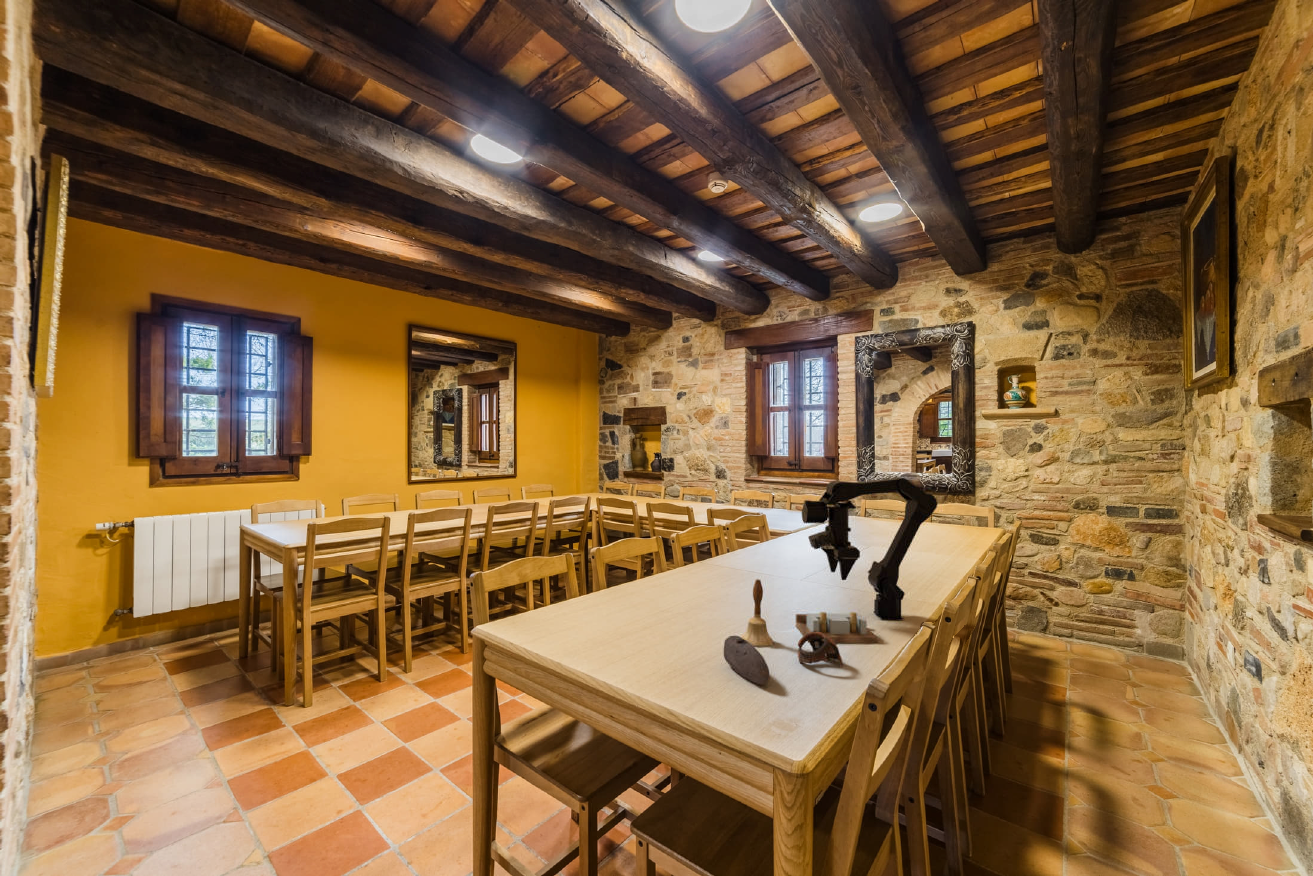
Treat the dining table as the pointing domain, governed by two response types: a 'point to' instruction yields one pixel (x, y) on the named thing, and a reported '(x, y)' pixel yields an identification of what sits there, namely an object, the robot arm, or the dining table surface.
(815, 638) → the brown curved piece
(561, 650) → the dining table surface
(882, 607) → the robot arm
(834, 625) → the grey notched panel
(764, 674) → the perforated stone tool
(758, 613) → the hand bell
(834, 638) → the board
